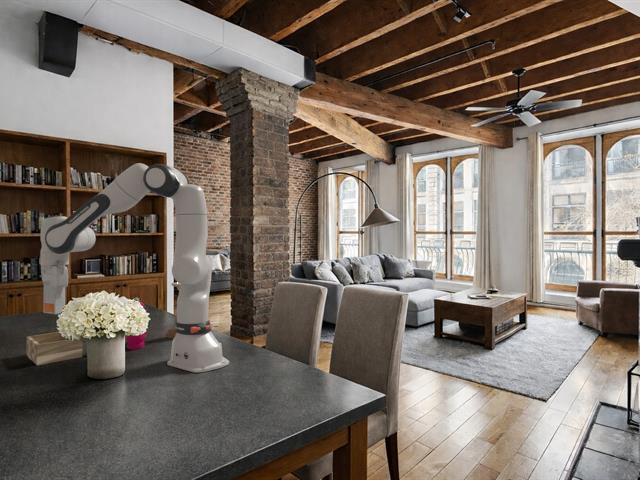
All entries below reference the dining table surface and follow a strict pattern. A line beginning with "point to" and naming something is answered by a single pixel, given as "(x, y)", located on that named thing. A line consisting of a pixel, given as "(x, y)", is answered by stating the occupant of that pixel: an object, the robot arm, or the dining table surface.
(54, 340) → the socket box
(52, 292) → the skincare box
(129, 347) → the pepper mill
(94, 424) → the dining table surface
